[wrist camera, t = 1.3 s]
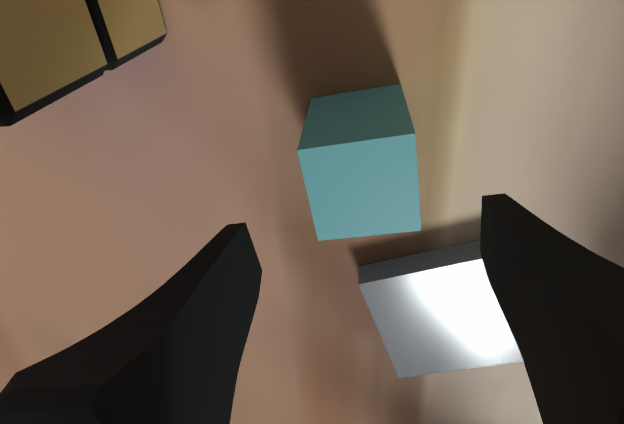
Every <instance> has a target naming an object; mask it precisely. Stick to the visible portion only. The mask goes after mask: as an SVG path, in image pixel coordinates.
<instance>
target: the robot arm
mask: <svg viewBox="0 0 624 424" xmlns="http://www.w3.org/2000/svg"><path fill="white" fill-rule="evenodd" d="M480 253H481V256H482V260H483V263H484V267H485V270H486V274H487V277H488V280H489V283H490V285H491V287H492V290H493V292H494V294H495V296H496V299H497V301H498V303H499V305H500V308H501V310H502V312H503V314H504V317H505V319H506V321H507V323H508V325H509V328H510V330H511V332H512V334H513V337H514V339H515V341H516V343H517V346H518V348H519V351H520V353H521V356H522V358H523V361H524V364H525V367H526V370H527V373H528V377H529V380H530V383H531V386H532V389H533V392H534V395H535V398H536V402H537V405H538V408H539V412H540V415H541V418H542V421H543V424H624V268H623V267H621V266H619V265H617V264H615V263H613V262H611V261H609V260H607V259H605V258H603V257H601V256H599V255H597V254H595V253H593V252H592V251H590V250H588V249H587V248H585V247H583V246H581V245H580V244H578V243H576V242H575V241H573V240H571V239H570V238H568V237H567V236H565V235H563V234H562V233H560V232H559V231H557V230H556V229H554V228H553V227H551V226H550V225H548V224H547V223H545V222H544V221H542V220H541V219H540V218H538V217H537V216H535V215H534V214H532V213H531V212H530V211H528V210H527V209H526V208H524V207H523V206H521V205H520V204H519V203H517V202H516V201H515V200H513V199H512V198H511V197H509V196H508V195H506V194H496V195H487V196H482V213H481V239H480ZM261 275H262V269H261V266H260V263H259V260H258V257H257V254H256V252H255V249H254V246H253V243H252V240H251V237H250V234H249V231H248V229H247V226H246V223H238V224H229V225H227V226H225V227H224V228H223V229H222V230H221V231H220V232H219V233H218V234H217V235H216V236H215V237H214V238H213V239H212V240H211V241H210V242H209V243H208V244H206V245H205V246H204V247H203V248H202V249H201V250H200V251H199V252H198V253H197V254H196V255H195V256H194V257H193V258H192V259H191V260H190V261H189V262H188V263H187V264H186V265H185V266H184V267H183V268H181V269H180V270H179V271H178V272H177V273H176V274H175V275H174V276H172V277H171V278H170V279H169V280H168V281H167V282H166V283H165V284H163V285H162V286H161V287H160V288H159V289H157V290H156V291H155V292H154V293H152V294H151V295H150V296H148V297H147V298H146V299H144V300H143V301H142V302H140V303H139V304H138V305H136V306H135V307H134V308H132V309H131V310H129V311H128V312H126V313H125V314H123V315H122V316H120V317H119V318H117V319H116V320H114V321H113V322H111V323H109V324H108V325H106V326H105V327H103V328H102V329H100V330H98V331H97V332H95V333H93V334H92V335H90V336H88V337H86V338H85V339H83V340H81V341H79V342H77V343H76V344H74V345H72V346H70V347H68V348H66V349H64V350H62V351H61V352H59V353H57V354H55V355H52V356H50V357H48V358H46V359H44V360H42V361H40V362H38V363H36V364H34V365H32V366H29V367H27V368H25V369H23V370H21V371H19V372H16V373H15V375H14V376H13V377H12V378H11V380H10V381H9V382H8V384H7V385H6V386H5V388H4V389H3V390H2V392H1V393H0V424H230V417H231V410H232V403H233V397H234V392H235V386H236V380H237V374H238V370H239V365H240V361H241V357H242V354H243V350H244V347H245V343H246V340H247V337H248V333H249V330H250V326H251V323H252V319H253V316H254V312H255V308H256V305H257V301H258V297H259V290H260V283H261Z"/></svg>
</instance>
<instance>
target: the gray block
mask: <svg viewBox="0 0 624 424" xmlns="http://www.w3.org/2000/svg"><path fill="white" fill-rule="evenodd" d="M358 276H359V287H360V289H361V291H362V294H363V296H364V298H365V301H366V303H367V305H368V308H369V310H370V312H371V315H372V317H373V319H374V322H375V324H376V326H377V329H378V331H379V333H380V336H381V338H382V340H383V343H384V345H385V347H386V350H387V352H388V354H389V357H390V359H391V361H392V364H393V366H394V368H395V371H396V373H397V375H398V378H405V377H413V376H420V375H427V374H434V373H442V372H449V371H456V370H463V369H470V368H478V367H485V366H492V365H499V364H506V363H514V362H521V361H523V358H522V356H521V353H520V351H519V348H518V346H517V343H516V341H515V339H514V337H513V334H512V332H511V330H510V328H509V325H508V323H507V321H506V319H505V317H504V314H503V312H502V310H501V308H500V305H499V303H498V301H497V299H496V296H495V294H494V292H493V290H492V287H491V285H490V283H489V280H488V277H487V274H486V270H485V267H484V263H483V260H482V256H481V253H480V239H479V240H475V241H470V242H466V243H461V244H457V245H452V246H448V247H443V248H439V249H434V250H430V251H425V252H421V253H416V254H412V255H407V256H403V257H398V258H394V259H389V260H385V261H380V262H376V263H371V264H367V265H362V266H358Z"/></svg>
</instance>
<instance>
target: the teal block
mask: <svg viewBox="0 0 624 424" xmlns="http://www.w3.org/2000/svg"><path fill="white" fill-rule="evenodd" d="M297 152H298V156H299V161H300V165H301V169H302V173H303V178H304V182H305V186H306V190H307V195H308V199H309V203H310V207H311V212H312V216H313V220H314V225H315V229H316V233H317V237H318V241H321V240H331V239H341V238H351V237H361V236H371V235H381V234H391V233H401V232H411V231H421V219H420V203H419V186H418V170H417V153H416V137H415V131H414V127H413V124H412V121H411V117H410V114H409V111H408V107H407V104H406V101H405V97H404V94H403V91H402V87H401V84H395V85H389V86H383V87H377V88H371V89H364V90H358V91H352V92H346V93H340V94H334V95H328V96H322V97H316V98H311V102H310V105H309V109H308V112H307V116H306V120H305V123H304V127H303V131H302V134H301V138H300V141H299V145H298V149H297Z"/></svg>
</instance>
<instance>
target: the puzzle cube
mask: <svg viewBox="0 0 624 424" xmlns="http://www.w3.org/2000/svg"><path fill="white" fill-rule="evenodd" d="M166 34H167V32H166V28H165V24H164V20H163V17H162V13H161V9H160V6H159V2H158V0H0V127H1V126H11V125H13V124H15V123H16V122H18V121H20V120H22V119H24V118H26V117H27V116H29V115H31V114H33V113H35V112H36V111H38V110H40V109H42V108H44V107H46V106H47V105H49V104H51V103H53V102H55V101H56V100H58V99H60V98H62V97H64V96H65V95H67V94H69V93H71V92H73V91H75V90H76V89H78V88H80V87H82V86H84V85H85V84H87V83H89V82H91V81H93V80H94V79H96V78H98V77H100V76H102V75H103V73H104V71H105V70H113V69H115V68H117V67H119V66H120V65H122V64H124V63H126V62H127V61H129V60H131V59H133V58H135V57H136V56H138V55H140V54H142V53H143V52H145V51H147V50H149V49H150V48H152V47H154V46H156V45H158V44H159V43H161V42H162V41H163V40H164V38H165V36H166Z"/></svg>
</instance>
